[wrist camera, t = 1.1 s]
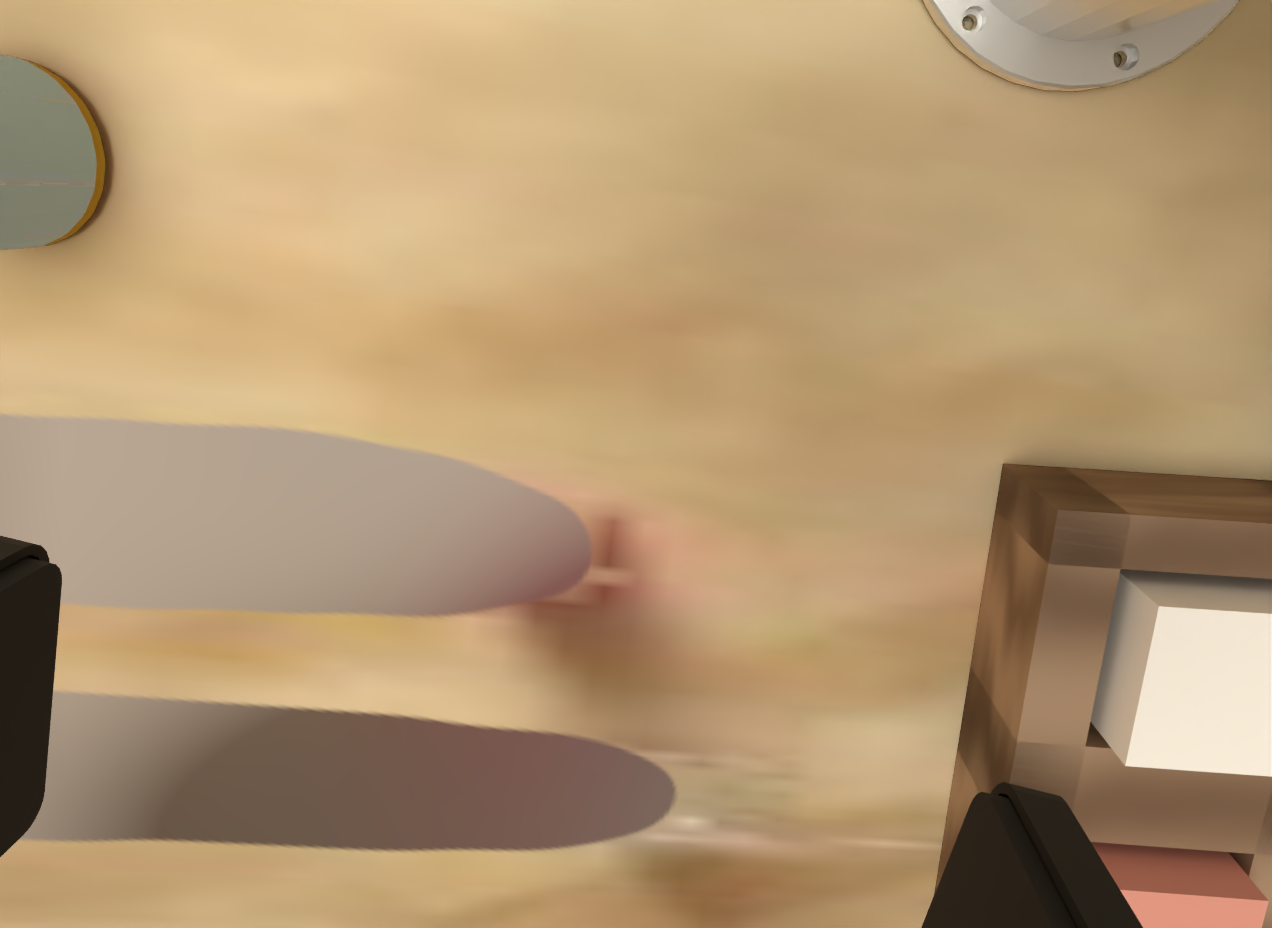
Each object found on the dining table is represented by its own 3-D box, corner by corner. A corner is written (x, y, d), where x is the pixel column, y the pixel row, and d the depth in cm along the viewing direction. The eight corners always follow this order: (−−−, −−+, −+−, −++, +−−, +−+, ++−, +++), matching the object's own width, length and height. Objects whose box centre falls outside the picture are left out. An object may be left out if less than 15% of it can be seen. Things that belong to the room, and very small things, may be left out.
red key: (1049, 805, 40) (1099, 888, 35) (1198, 815, 40) (1268, 900, 35) (1026, 927, 42) (1071, 1023, 37) (1169, 938, 42) (1232, 1036, 37)
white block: (1097, 553, 37) (1158, 606, 32) (1258, 563, 37) (1343, 618, 32) (1070, 695, 39) (1125, 766, 34) (1224, 705, 39) (1301, 778, 34)
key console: (1003, 463, 40) (1057, 509, 34) (1305, 483, 39) (1414, 532, 33) (930, 921, 45) (966, 1026, 40) (1193, 941, 45) (1268, 1051, 39)
